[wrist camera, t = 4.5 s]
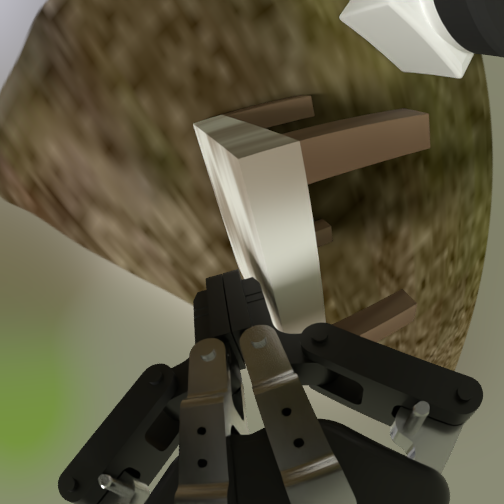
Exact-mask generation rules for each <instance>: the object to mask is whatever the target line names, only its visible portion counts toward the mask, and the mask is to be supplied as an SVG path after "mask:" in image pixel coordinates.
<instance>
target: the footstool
mask: <svg viewBox="0 0 504 504" xmlns="http://www.w3.org/2000/svg"><path fill="white" fill-rule="evenodd" d="M313 116H315V114H314V109H313V104H312V99H311V96H308V95H299V96H294V97H289V98H285V99H280V100H276V101H271V102H267V103H263V104H259V105H255V106H251V107H247V108H244V109H240V110H236V111H233V112H229V113H226V114H222V115H219V116H216V117H212V118H209V119H206V120H203V121H199V122H196V123H193V126H194V129H195V132H196V135H197V139H198V142H199V145H200V148H201V152H202V155H203V158H204V161H205V164H206V168H207V171H208V174H209V177H210V180H211V183H212V187H213V190H214V193H215V196H216V199H217V202H218V205H219V209H220V212H221V215H222V218H223V221H224V224H225V227H226V230H227V233H228V236H229V240H230V243H231V246H232V249H233V252H234V255H235V258H236V261H237V264H238V267H239V269H240V271H241V273H242V275H243V277H244V279H247V278H251V277H254V278H255V279H256V280H257V281H258V282H259V283H260V285H261V288H262V291H263V295H264V298H265V301H266V304H267V307H268V310H269V313H270V316H271V319H272V323H273V325H274V326H275V328H277V329H278V330H279V331H281V332H284V333H289V334H298V333H302V332H303V330H304V329H305V328H306V327H308V326H309V325H311V324H314V323H320V322H323V323H326V320H325V310H324V300H323V291H322V282H321V274H320V266H319V258H318V251H317V247H320V246H322V245H325V244H327V243H330V242H332V241H333V238H332V229H331V225H329V224H328V223H327V222H326V221H325V220H323V219H320V220H317V221H315V222H313V216H312V209H311V203H310V197H309V191H308V184H311V183H314V182H317V181H320V180H323V179H326V178H330V177H333V176H336V175H339V174H342V173H346V172H349V171H352V170H355V169H359V168H362V167H365V166H369V165H372V164H375V163H379V162H382V161H386V160H389V159H393V158H396V157H400V156H403V155H407V154H411V153H414V152H418V151H421V150H425V149H429V148H430V127H429V114H428V113H424V112H419V111H415V110H410V109H405V108H403V109H397V110H390V111H384V112H379V113H373V114H368V115H362V116H357V117H352V118H347V119H342V120H338V121H333V122H329V123H324V124H320V125H316V126H312V127H307V128H303V129H299V130H295V131H292V132H288V133H284V134H279V133H276V132H273V131H271V130H268V129H265V128H268V127H272V126H276V125H280V124H284V123H288V122H292V121H296V120H300V119H304V118H309V117H313ZM416 307H417V303H416V302H415V301H414V300H413V299H412V298H411V297H410V296H409V295H408V294H407V293H406V292H405V291H404V290H403V289H401V290H399V291H397V292H396V293H394V294H392V295H390V296H388V297H386V298H384V299H383V300H381V301H379V302H377V303H375V304H373V305H371V306H369V307H367V308H365V309H363V310H361V311H359V312H357V313H355V314H353V315H351V316H349V317H347V318H345V319H343V320H341V321H339V322H336V323H334V324H332V325H334V326H336V327H339V328H341V329H344V330H346V331H349V332H351V333H354V334H356V335H359V336H361V337H364V338H366V339H369V340H371V341H374V342H378V341H380V340H381V339H383V338H385V337H387V336H389V335H390V334H392V333H394V332H395V331H397V330H399V329H401V328H402V327H404V326H406V325H407V324H409V323H411V322H412V321H414V317H415V312H416Z"/></svg>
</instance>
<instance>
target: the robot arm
mask: <svg viewBox="0 0 504 504" xmlns="http://www.w3.org/2000/svg"><path fill="white" fill-rule="evenodd" d="M206 288H207V290H204V291H201V292H198V293H197V295H196V297H195V299H194V301H193V303H194V327H195V345H194V346H193V348H192V349H191V351H190V355H189V358H188V359H187V360H186V361H184V362H182V363H181V364H179V365H177V366H175V367H173V368H170V367H169V366H167V365H165V364H155V365H152V366H150V367H149V368H147V369H146V370H145V371H144V372H143V373H142V375H141V376H140V377H139V378H138V380H137V381H136V382H135V384H134V385H133V386H132V387H131V388H130V390H129V391H128V392H127V393H126V394H125V396H124V397H123V398H122V399H121V401H120V402H119V403H118V404H117V405H116V407H115V408H114V409H113V411H112V412H111V413H110V414H109V415H108V417H107V418H106V419H105V420H104V422H103V423H102V424H101V425H100V427H99V428H98V429H97V430H96V431H95V433H94V434H93V435H92V436H91V438H90V439H89V440H88V441H87V443H86V444H85V445H84V446H83V448H82V449H81V450H80V452H79V453H78V454H77V455H76V456H75V458H74V459H73V460H72V461H71V463H70V464H69V465H68V466H67V468H66V469H65V470H64V471H63V473H62V474H61V476H60V477H59V480H58V489H59V492H60V494H61V496H62V497H63V498H64V499H65V500H67V501H69V502H71V503H74V504H449V501H450V492H449V488H448V484H447V482H446V480H445V479H444V477H443V476H442V475H441V472H442V471H443V469H444V467H445V464H446V462H447V461H448V459H449V456H450V454H451V452H452V450H453V448H454V445H455V443H456V441H457V438H458V436H459V434H460V431H461V429H462V426H463V425H464V423H466V421H467V420H468V419H469V418H470V417H471V416H472V415H473V413H474V412H475V411H476V410H477V409H478V407H479V406H480V404H481V402H482V399H483V391H482V388H481V385H480V384H479V383H478V381H476V380H475V379H473V378H472V377H469V376H466V375H463V374H460V373H458V372H455V371H452V370H449V369H446V368H444V367H441V366H438V365H435V364H432V363H430V362H427V361H424V360H422V359H419V358H416V357H413V356H411V355H408V354H405V353H403V352H400V351H397V350H395V349H392V348H390V347H387V346H384V345H382V344H379V343H377V342H374V341H371V340H369V339H366V338H364V337H361V336H359V335H356V334H354V333H351V332H349V331H346V330H344V329H341V328H339V327H336V326H334V325H331V324H328V323H323V322H320V323H314V324H311V325H309V326H308V327H306V328H305V329H304V330H303V332H302V333H298V334H289V333H284V332H281V331H279V330H278V329H277V328H275V326H274V325H273V323H272V319H271V316H270V313H269V310H268V307H267V304H266V301H265V298H264V295H263V291H262V288H261V285H260V283H259V282H258V281H257V280H256V279H255V278H254V277H251V278H247V279H244V280H242V279H241V276H240V273H239V270H238V269H237V270H233V271H230V272H226V273H223V275H222V274H220V275H216V276H212V277H209V278H206ZM245 364H246V366H247V370H248V373H249V376H250V379H251V382H252V386H253V387H252V389H253V392H254V395H255V399H256V402H257V405H258V408H259V411H260V414H261V417H262V420H263V423H264V426H265V428H263V429H261V430H259V431H257V432H255V433H253V434H250V431H249V428H248V425H247V416H246V406H245V397H244V387H243V383H242V378H241V373H240V370H241V369H245V368H246V366H245ZM302 385H309V387H310V388H312V389H313V390H315V391H317V392H319V393H321V394H323V395H325V396H327V397H329V398H331V399H333V400H335V401H337V402H339V403H341V404H343V405H345V406H347V407H349V408H351V409H353V410H356V411H358V412H360V413H362V414H364V415H366V416H368V417H371V418H373V419H375V420H377V421H380V422H382V423H384V424H387V425H389V426H391V429H390V435H391V438H392V441H393V442H394V443H395V444H396V445H398V446H399V447H401V448H402V449H403V450H404V451H405V452H406V454H407V456H405V455H402V454H400V453H398V452H396V451H394V450H392V449H390V448H388V447H385V446H383V445H382V444H379V443H377V442H375V441H374V440H371V439H369V438H368V437H366V436H364V435H362V434H360V433H358V432H356V431H354V430H352V429H350V428H349V427H347V426H345V425H343V424H341V423H337V422H335V421H331V420H326V419H317V417H316V415H315V413H314V411H313V408H312V406H311V404H310V402H309V400H308V397H307V395H306V393H305V391H304V389H303V386H302ZM178 445H179V456H178V457H176V458H175V460H174V461H173V462H172V463H171V465H170V466H169V468H168V469H167V471H166V472H165V473H164V475H163V476H162V478H161V479H160V481H159V482H158V484H157V485H156V487H155V488H154V490H153V491H152V492H151V494H150V491H149V488H148V486H149V484H150V483H151V482H152V480H153V479H154V478H155V476H156V475H157V474H158V472H159V471H160V470H161V468H162V467H163V465H164V464H165V463H166V461H167V460H168V459H169V457H170V456H171V455H172V453H173V452H174V450H175V449H176V448H177V446H178Z"/></svg>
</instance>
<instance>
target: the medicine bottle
mask: <svg viewBox="0 0 504 504" xmlns="http://www.w3.org/2000/svg"><path fill="white" fill-rule="evenodd" d="M339 18H340V20H341V21H342V22H344V23H345V24H346V25H348V26H349V27H350V28H352V29H353V30H354V31H356V32H357V33H358V34H359V35H361V36H362V37H363V38H364V39H366V40H367V41H368V42H369V43H371V44H372V45H373V46H374V47H375V48H377V49H378V50H379V51H380V52H381V53H382V54H383V55H385V56H386V57H387V58H388V59H389V60H390V61H391V62H392V63H394V64H395V65H396V66H397V67H398V68H399V69H400V70H401V71H403V72H412V73H422V74H431V75H439V76H446V77H453V78H462V77H463V75H464V73H465V71H466V69H467V67H468V65H469V63H470V61H471V59H472V57H473V55H474V53H475V54H485V55H492V56H499V57H504V0H350V2H349V3H348V4H347V6H346V7H345V9H344V10H343V12H342V13H341V14H340V16H339Z"/></svg>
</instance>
